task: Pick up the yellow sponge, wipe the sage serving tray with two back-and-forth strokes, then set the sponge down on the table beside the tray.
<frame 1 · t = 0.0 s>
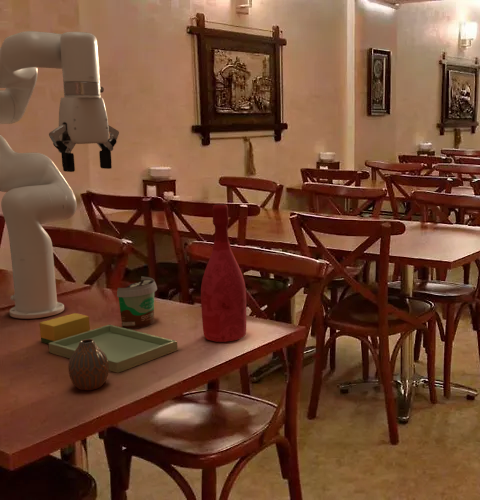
hand: (88, 169, 157), 37 cm above the table, tool pointing down, fingers open, 9 cm apart
tray: (113, 351, 148), on the table
wine bottle: (225, 337, 158), on the table
sponge: (66, 338, 157), on the table
vase: (90, 387, 129), on the table
food container: (144, 324, 167), on the table
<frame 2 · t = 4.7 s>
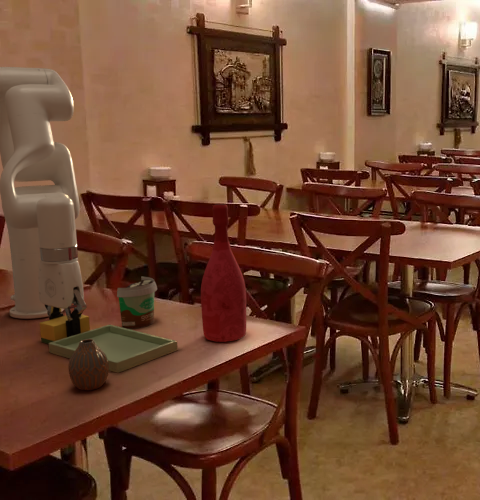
hand: (65, 333, 156), 1 cm above the table, tool pointing down, fingers closed on sponge, 5 cm apart
sponge: (66, 338, 157), on the table, touching gripper
everything else where it was.
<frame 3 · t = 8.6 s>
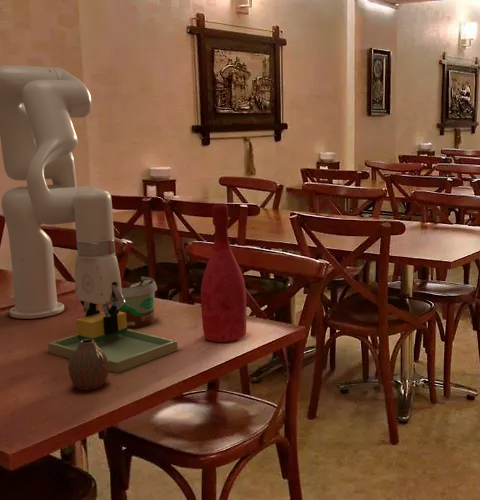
hand: (102, 330, 152), 3 cm above the table, tool pointing down, fingers closed on sponge, 5 cm apart
sponge: (103, 335, 152), point 2 cm above the table, touching gripper
everything else where it was.
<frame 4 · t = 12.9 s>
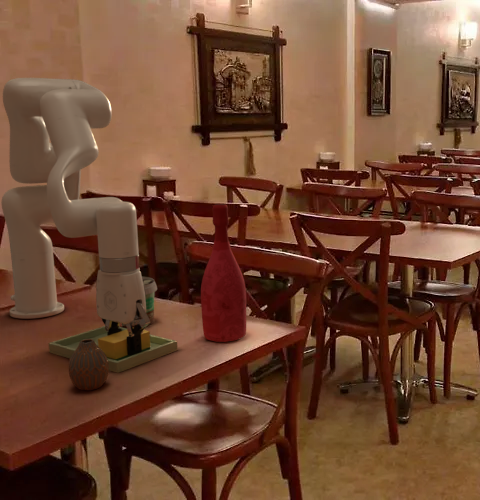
hand: (125, 350, 144), 2 cm above the table, tool pointing down, fingers closed on sponge, 5 cm apart
sponge: (125, 355, 144), point 1 cm above the table, touching gripper
everything else where it was.
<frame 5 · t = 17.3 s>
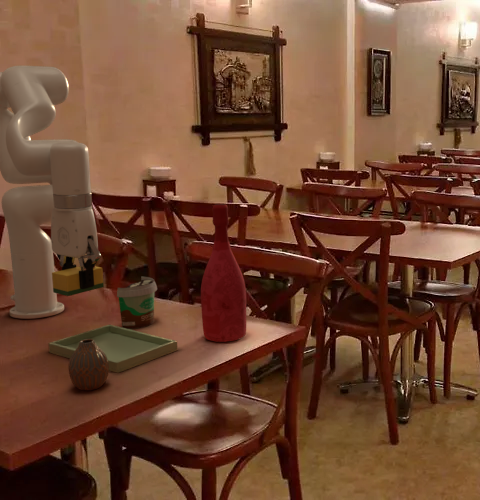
hand: (78, 284, 152), 13 cm above the table, tool pointing down, fingers closed on sponge, 5 cm apart
sponge: (78, 289, 152), point 12 cm above the table, touching gripper
everything else where it was.
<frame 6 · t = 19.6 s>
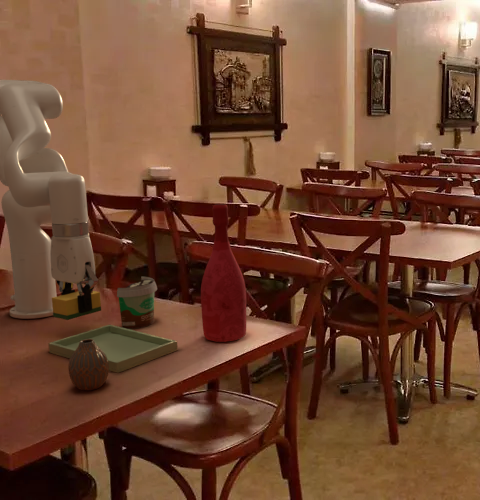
hand: (77, 309, 159), 6 cm above the table, tool pointing down, fingers closed on sponge, 5 cm apart
sponge: (77, 313, 159), point 5 cm above the table, touching gripper
everything else where it was.
when the fingers open (1 cm above the table, at t = 21.2 s): sponge stays where it is, on the table.
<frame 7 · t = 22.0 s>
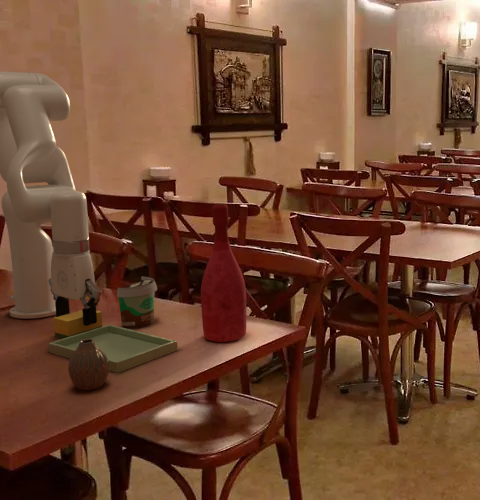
hand: (76, 320, 160), 3 cm above the table, tool pointing down, fingers open, 9 cm apart
sponge: (79, 333, 160), on the table
everything else where it was.
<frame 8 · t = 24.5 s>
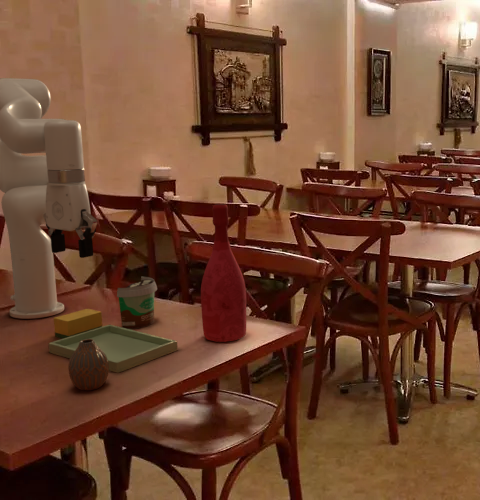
hand: (72, 254, 157), 18 cm above the table, tool pointing down, fingers open, 9 cm apart
nothing on the table moved.
at the end: sponge inside the target area (0.4 cm from its centre), on the table; sponge tilted 0°; the gripper is holding nothing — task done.
